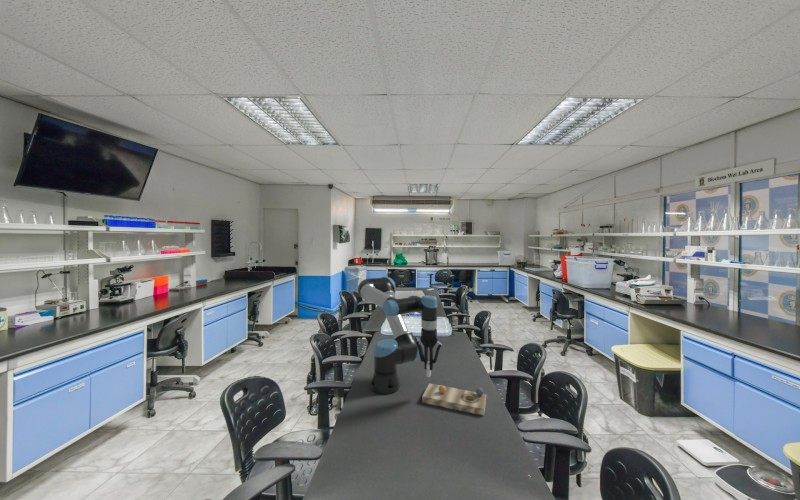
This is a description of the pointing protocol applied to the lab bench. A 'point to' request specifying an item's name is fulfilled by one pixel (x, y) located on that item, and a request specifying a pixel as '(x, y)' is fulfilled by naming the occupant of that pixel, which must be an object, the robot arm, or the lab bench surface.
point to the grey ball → (479, 391)
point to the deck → (455, 399)
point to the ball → (442, 389)
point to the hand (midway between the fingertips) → (428, 375)
